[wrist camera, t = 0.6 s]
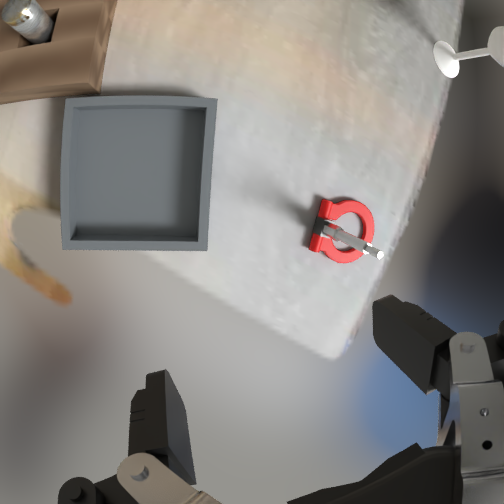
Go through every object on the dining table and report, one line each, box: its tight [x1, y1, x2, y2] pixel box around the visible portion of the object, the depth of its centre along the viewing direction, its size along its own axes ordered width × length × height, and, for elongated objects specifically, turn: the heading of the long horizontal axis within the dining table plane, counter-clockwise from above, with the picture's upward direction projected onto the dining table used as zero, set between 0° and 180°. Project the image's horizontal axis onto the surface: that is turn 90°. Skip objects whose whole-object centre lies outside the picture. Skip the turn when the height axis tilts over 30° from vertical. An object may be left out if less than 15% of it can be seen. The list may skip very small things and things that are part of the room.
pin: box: [1, 0, 55, 45], centre depth 21 cm, size 3×3×12 cm
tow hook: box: [309, 199, 383, 263], centre depth 36 cm, size 8×13×9 cm
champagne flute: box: [433, 26, 504, 78], centre depth 27 cm, size 7×7×24 cm
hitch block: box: [0, 0, 117, 105], centre depth 23 cm, size 14×14×6 cm
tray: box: [60, 95, 218, 251], centre depth 32 cm, size 16×16×4 cm
